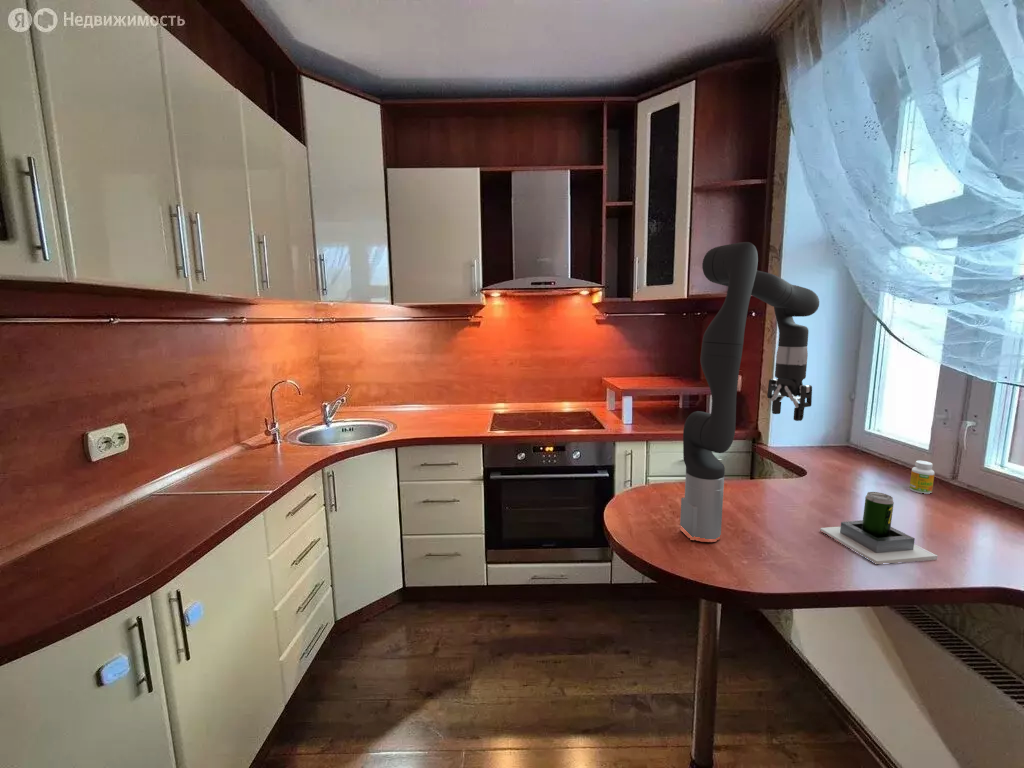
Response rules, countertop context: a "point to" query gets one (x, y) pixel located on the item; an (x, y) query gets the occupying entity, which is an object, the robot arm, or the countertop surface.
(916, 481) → the supplement bottle
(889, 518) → the beer can
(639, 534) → the countertop surface
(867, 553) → the holder plate
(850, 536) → the can collar
